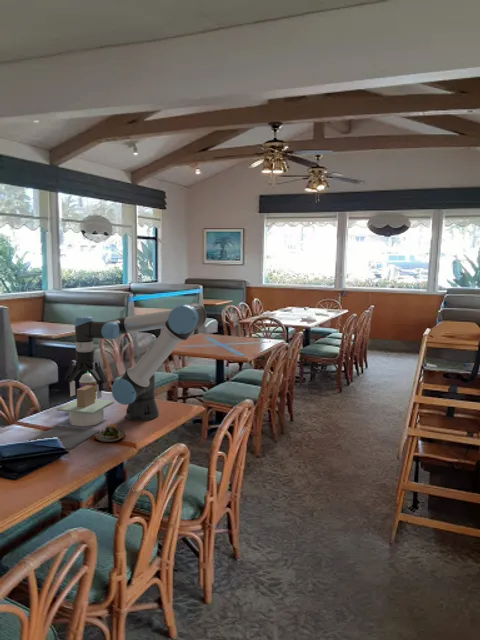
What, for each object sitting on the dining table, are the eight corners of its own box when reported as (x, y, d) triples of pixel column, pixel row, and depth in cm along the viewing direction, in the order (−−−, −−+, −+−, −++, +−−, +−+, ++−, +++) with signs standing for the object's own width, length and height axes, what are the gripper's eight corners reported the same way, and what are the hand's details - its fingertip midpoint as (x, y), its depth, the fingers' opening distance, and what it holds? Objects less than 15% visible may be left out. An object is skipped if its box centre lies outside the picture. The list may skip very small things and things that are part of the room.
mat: (99, 431, 206) (99, 430, 206) (70, 449, 186) (70, 448, 186) (57, 426, 211) (57, 425, 211) (24, 444, 191) (24, 442, 191)
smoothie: (76, 408, 239) (75, 368, 236) (87, 403, 246) (86, 365, 244) (89, 410, 236) (88, 370, 233) (100, 405, 243) (99, 366, 241)
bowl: (108, 417, 225) (108, 403, 224) (91, 427, 211) (91, 412, 211) (81, 414, 228) (81, 401, 228) (63, 424, 215) (63, 410, 214)
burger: (89, 441, 195) (88, 424, 194) (108, 432, 206) (107, 415, 205) (112, 446, 190) (112, 428, 189) (131, 437, 201) (130, 419, 200)
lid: (114, 403, 225) (113, 384, 224) (92, 414, 208) (92, 394, 207) (80, 399, 230) (79, 381, 229) (56, 410, 213) (56, 391, 212)
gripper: (55, 350, 216) (56, 396, 218) (104, 353, 209) (106, 401, 212) (65, 347, 223) (67, 392, 225) (113, 350, 216) (114, 396, 219)
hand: (85, 396), depth 219 cm, fingers open, 13 cm apart
